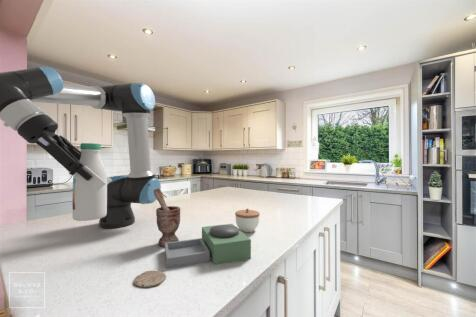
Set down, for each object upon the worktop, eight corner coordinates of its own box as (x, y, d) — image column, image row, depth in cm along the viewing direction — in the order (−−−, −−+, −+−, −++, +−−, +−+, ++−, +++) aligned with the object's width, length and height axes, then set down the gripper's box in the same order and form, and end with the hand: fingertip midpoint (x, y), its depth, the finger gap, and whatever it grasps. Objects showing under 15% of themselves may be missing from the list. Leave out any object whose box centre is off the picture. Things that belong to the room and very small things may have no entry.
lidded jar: (252, 235, 92) (252, 212, 92) (230, 231, 97) (230, 209, 97) (263, 228, 101) (263, 207, 101) (243, 224, 106) (243, 205, 106)
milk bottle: (113, 214, 64) (113, 144, 63) (92, 222, 56) (93, 142, 56) (88, 213, 64) (88, 144, 64) (64, 221, 57) (65, 142, 57)
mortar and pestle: (143, 246, 81) (143, 190, 80) (157, 237, 89) (157, 187, 89) (173, 248, 78) (173, 191, 78) (184, 239, 87) (184, 188, 87)
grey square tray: (164, 250, 76) (164, 242, 76) (201, 245, 81) (201, 238, 81) (167, 268, 65) (167, 258, 65) (209, 261, 69) (209, 252, 69)
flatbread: (127, 283, 57) (127, 279, 57) (151, 270, 64) (151, 266, 64) (149, 292, 53) (149, 288, 53) (172, 277, 60) (172, 274, 60)
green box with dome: (201, 242, 84) (201, 223, 84) (232, 238, 88) (232, 220, 88) (214, 264, 67) (214, 240, 67) (250, 258, 71) (250, 235, 71)
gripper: (38, 136, 64) (102, 190, 70) (-12, 128, 45) (82, 202, 51) (60, 119, 66) (121, 172, 72) (22, 104, 47) (109, 179, 53)
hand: (105, 185), depth 61 cm, fingers closed on milk bottle, 7 cm apart
